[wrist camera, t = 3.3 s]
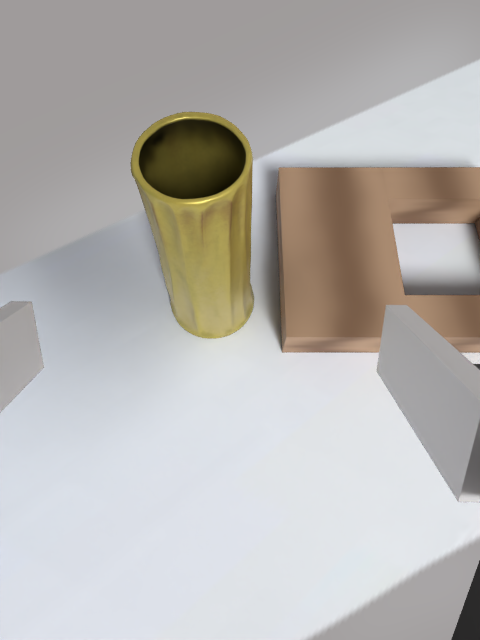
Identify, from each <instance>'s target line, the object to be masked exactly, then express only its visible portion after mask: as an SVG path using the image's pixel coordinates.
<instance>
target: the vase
mask: <svg viewBox="0 0 480 640" xmlns="http://www.w3.org/2000/svg"><path fill="white" fill-rule="evenodd" d="M252 164H253V157H252V151H251V148H250V145H249V142H248V140H247V138H246V137H245V136H244V135H243V134H242V132H241V131H240V130H239V129H238V128H237V127H236V126H235V125H234V124H232V123H231V122H229V121H228V120H226V119H224V118H222V117H220V116H217V115H214V114H209V113H200V112H182V113H177V114H174V115H170V116H168V117H165V118H163V119H161V120H159V121H157V122H155V123H154V124H152V125H151V126H150V127H149V128H148V129H147V130H146V131H144V132H143V133H142V135H141V136H140V137H139V138H138V140H137V142H136V143H135V146H134V149H133V153H132V158H131V172H132V175H133V177H134V179H135V181H136V184H137V186H138V189H139V192H140V195H141V198H142V201H143V204H144V208H145V211H146V214H147V217H148V220H149V223H150V225H151V229H152V232H153V236H154V239H155V242H156V245H157V249H158V252H159V256H160V262H161V267H162V271H163V275H164V278H165V283H166V286H167V290H168V292H169V295H170V298H171V308H172V311H173V314H174V316H175V318H176V320H177V322H178V323H179V324H180V326H181V327H183V328H184V329H185V330H186V331H188V332H189V333H191V334H193V335H195V336H198V337H202V338H221V337H225V336H228V335H230V334H232V333H234V332H236V331H237V330H239V329H240V328H241V327H242V326H243V325H244V324H245V323H246V322H247V320H248V319H249V317H250V315H251V313H252V310H253V306H254V295H253V291H252V287H251V284H250V263H251V211H252Z"/></svg>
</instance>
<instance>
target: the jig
mask: <svg viewBox="0 0 480 640" xmlns="http://www.w3.org/2000/svg"><path fill="white" fill-rule="evenodd" d="M276 210H277V234H278V259H279V284H280V309H281V333H282V352H379V351H380V344H381V337H382V330H383V323H384V316H385V309H386V305H407V306H408V307H410V308H411V309H412V310H413V311H414V312H415V313H416V314H417V315H419V316H420V317H421V318H422V319H423V320H424V321H425V322H426V323H428V324H429V325H430V326H431V327H432V328H433V329H434V330H435V331H436V332H438V333H439V334H440V335H441V336H442V337H443V338H444V339H445V340H447V341H448V342H449V343H450V344H451V345H452V346H453V347H454V348H456V349H457V350H458V351H459V352H480V295H405V293H404V287H403V282H402V276H401V270H400V265H399V259H398V253H397V247H396V242H395V236H394V230H393V224H392V223H475V226H476V229H477V233H478V237H479V240H480V167H425V168H279V171H278V180H277V188H276Z"/></svg>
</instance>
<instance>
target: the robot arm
mask: <svg viewBox="0 0 480 640" xmlns="http://www.w3.org/2000/svg"><path fill="white" fill-rule="evenodd" d="M43 368H44V365H43V360H42V354H41V349H40V344H39V338H38V333H37V328H36V322H35V317H34V312H33V306H32V302H22V301H11V302H9V303H8V304H6V305H4V306H3V307H1V308H0V412H1V411H2V410H3V409H4V408H5V407H6V406H7V405H8V404H9V403H10V402H11V401H12V400H13V399H14V398H15V397H16V396H17V395H18V394H19V393H20V392H21V391H22V390H23V389H24V388H25V387H26V386H27V385H28V384H29V383H30V382H31V381H32V380H33V378H34V377H35V376H36V375H37V374H38V373H39V372H40V371H41V370H42V369H43ZM377 373H378V374H379V376H380V377H381V379H382V381H383V382H384V384H385V385H386V387H387V389H388V390H389V392H390V393H391V395H392V397H393V398H394V400H395V401H396V403H397V405H398V406H399V408H400V409H401V411H402V413H403V414H404V416H405V417H406V419H407V421H408V422H409V424H410V425H411V427H412V429H413V430H414V432H415V433H416V435H417V437H418V438H419V440H420V441H421V443H422V445H423V446H424V448H425V449H426V451H427V453H428V454H429V456H430V457H431V459H432V461H433V462H434V464H435V465H436V467H437V469H438V470H439V472H440V474H441V475H442V477H443V478H444V480H445V482H446V483H447V485H448V486H449V488H450V490H451V491H452V493H453V494H454V496H455V498H456V499H457V501H458V502H480V364H472V363H471V362H470V361H469V360H468V359H467V358H466V357H465V356H463V355H462V354H461V353H460V352H459V351H458V350H457V349H456V348H454V347H453V346H452V345H451V344H450V343H449V342H448V341H447V340H445V339H444V338H443V337H442V336H441V335H440V334H439V333H438V332H436V331H435V330H434V329H433V328H432V327H431V326H430V325H429V324H428V323H426V322H425V321H424V320H423V319H422V318H421V317H420V316H419V315H417V314H416V313H415V312H414V311H413V310H412V309H411V308H410V307H408V306H407V305H386V309H385V316H384V323H383V330H382V337H381V344H380V351H379V358H378V365H377ZM452 640H480V561H479V564H478V567H477V570H476V572H475V576H474V578H473V581H472V584H471V587H470V590H469V592H468V595H467V598H466V600H465V603H464V606H463V609H462V612H461V614H460V617H459V620H458V623H457V626H456V629H455V631H454V634H453V637H452Z"/></svg>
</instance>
